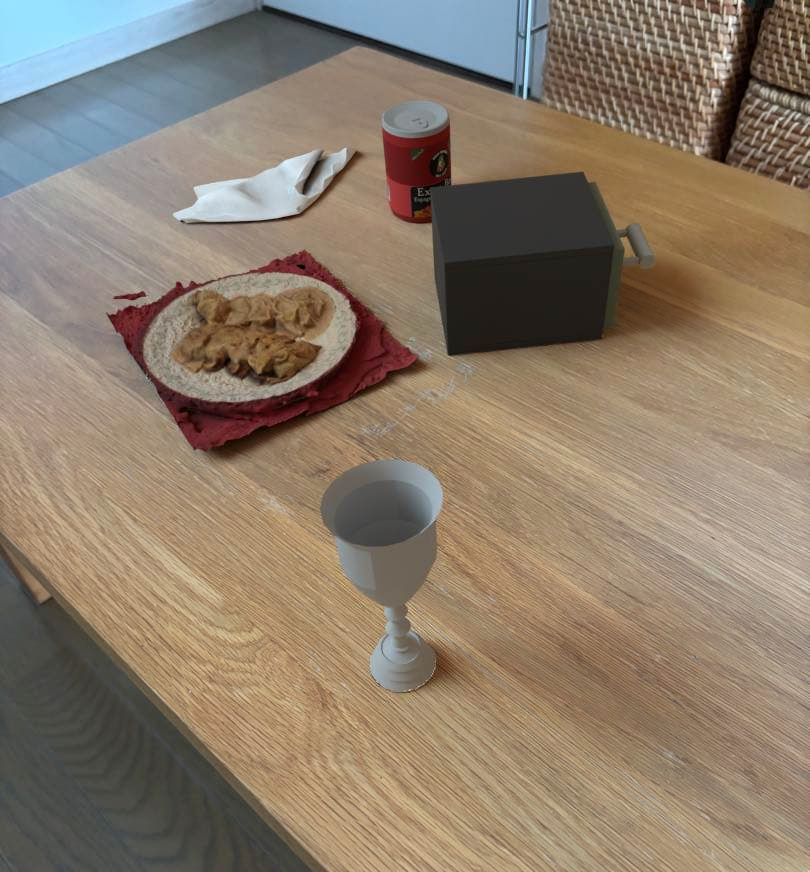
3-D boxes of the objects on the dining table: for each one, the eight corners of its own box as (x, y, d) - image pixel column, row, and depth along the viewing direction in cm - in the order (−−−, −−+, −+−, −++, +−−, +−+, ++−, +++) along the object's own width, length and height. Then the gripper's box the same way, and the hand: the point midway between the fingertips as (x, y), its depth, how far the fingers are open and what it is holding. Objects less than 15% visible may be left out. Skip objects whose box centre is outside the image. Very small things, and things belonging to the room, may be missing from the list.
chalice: (374, 719, 61) (344, 564, 48) (341, 646, 66) (303, 484, 52) (467, 680, 63) (463, 519, 49) (428, 611, 67) (415, 444, 53)
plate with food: (201, 467, 79) (192, 441, 77) (109, 323, 93) (99, 296, 91) (421, 372, 86) (420, 344, 83) (305, 251, 100) (301, 224, 98)
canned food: (419, 231, 102) (413, 139, 93) (375, 207, 106) (366, 116, 97) (466, 206, 104) (464, 114, 96) (422, 183, 109) (417, 93, 100)
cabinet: (574, 263, 95) (583, 171, 87) (602, 339, 87) (614, 244, 78) (434, 278, 95) (430, 187, 87) (447, 355, 87) (444, 262, 79)
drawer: (626, 254, 94) (638, 177, 87) (656, 322, 86) (671, 243, 80) (455, 272, 94) (453, 196, 88) (469, 342, 86) (468, 265, 80)
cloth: (188, 247, 103) (183, 230, 101) (163, 195, 111) (158, 178, 109) (389, 190, 108) (388, 173, 106) (351, 145, 116) (349, 128, 115)
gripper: (729, -291, 54) (677, 31, 68) (968, -316, 54) (867, 11, 68) (694, -307, 58) (652, -4, 73) (913, -331, 58) (829, -23, 72)
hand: (756, 2), depth 70 cm, fingers closed
